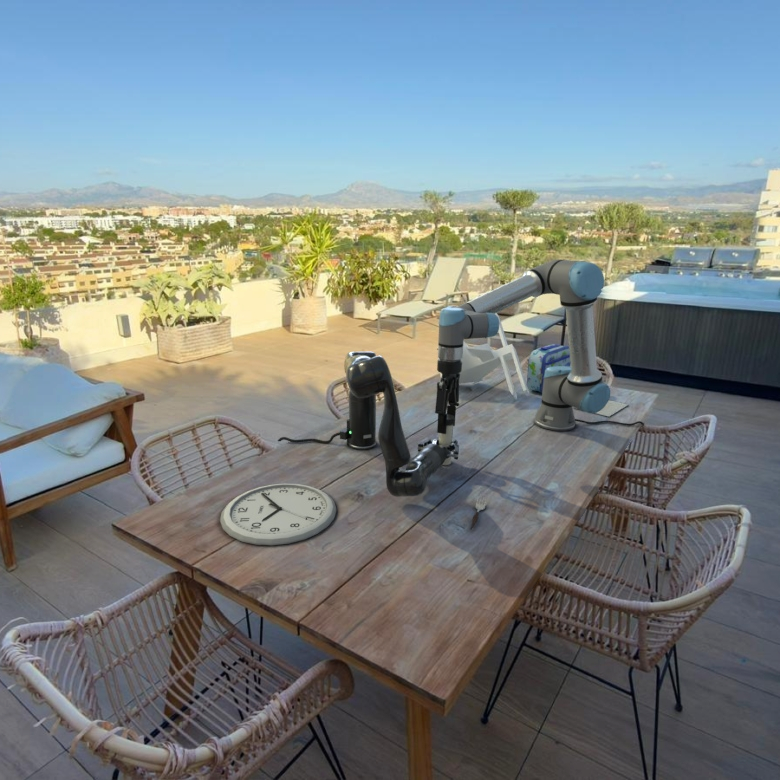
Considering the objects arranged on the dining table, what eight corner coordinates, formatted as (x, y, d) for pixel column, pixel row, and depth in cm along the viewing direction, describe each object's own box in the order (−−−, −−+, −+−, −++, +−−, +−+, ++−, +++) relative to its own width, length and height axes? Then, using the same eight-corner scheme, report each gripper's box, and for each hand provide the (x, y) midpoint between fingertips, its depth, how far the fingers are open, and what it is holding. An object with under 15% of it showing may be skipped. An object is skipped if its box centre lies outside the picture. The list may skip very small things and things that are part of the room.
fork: (465, 530, 132) (466, 523, 131) (477, 500, 146) (478, 494, 146) (475, 532, 131) (476, 525, 130) (487, 502, 145) (487, 496, 145)
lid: (435, 420, 167) (435, 415, 167) (449, 418, 169) (449, 413, 169) (443, 426, 163) (443, 420, 162) (457, 424, 165) (458, 418, 164)
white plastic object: (461, 429, 252) (437, 405, 227) (444, 352, 274) (420, 323, 250) (535, 404, 240) (518, 377, 215) (510, 326, 262) (492, 293, 237)
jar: (447, 458, 173) (449, 415, 168) (453, 464, 169) (455, 420, 164) (435, 460, 171) (437, 417, 167) (441, 466, 168) (443, 421, 163)
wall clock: (335, 537, 125) (206, 541, 122) (335, 543, 125) (207, 547, 123) (337, 479, 154) (232, 481, 151) (337, 484, 154) (233, 486, 151)
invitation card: (608, 416, 214) (573, 407, 224) (608, 416, 214) (573, 408, 224) (628, 404, 229) (594, 396, 238) (628, 405, 229) (594, 397, 238)
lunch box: (543, 396, 238) (548, 352, 231) (522, 391, 245) (526, 347, 239) (570, 385, 255) (575, 343, 249) (550, 381, 262) (555, 340, 256)
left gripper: (452, 453, 152) (470, 433, 167) (407, 444, 158) (428, 426, 172) (450, 476, 154) (468, 455, 169) (406, 466, 160) (427, 447, 175)
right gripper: (450, 351, 170) (446, 417, 177) (425, 364, 153) (422, 437, 160) (472, 354, 167) (467, 421, 174) (449, 368, 150) (445, 442, 157)
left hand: (448, 440), depth 171 cm, fingers closed on jar, 4 cm apart
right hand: (446, 428), depth 167 cm, fingers open, 7 cm apart
